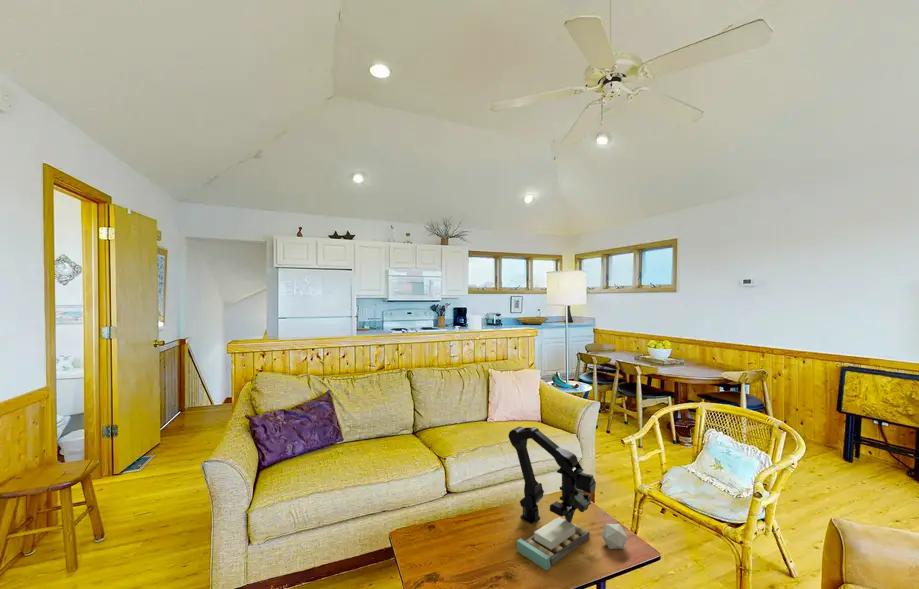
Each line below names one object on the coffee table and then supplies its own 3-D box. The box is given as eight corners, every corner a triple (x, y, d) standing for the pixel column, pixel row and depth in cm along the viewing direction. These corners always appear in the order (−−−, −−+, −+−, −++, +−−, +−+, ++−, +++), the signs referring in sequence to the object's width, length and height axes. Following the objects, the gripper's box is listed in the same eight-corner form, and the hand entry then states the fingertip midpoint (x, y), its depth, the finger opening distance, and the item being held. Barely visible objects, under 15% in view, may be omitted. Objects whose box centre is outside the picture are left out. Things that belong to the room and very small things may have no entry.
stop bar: (517, 551, 148) (517, 540, 148) (520, 548, 149) (520, 538, 149) (546, 570, 137) (546, 559, 137) (550, 568, 138) (550, 557, 138)
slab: (534, 539, 150) (534, 532, 150) (558, 523, 160) (558, 516, 160) (551, 549, 144) (551, 541, 144) (575, 532, 154) (575, 525, 154)
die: (624, 558, 144) (634, 532, 147) (602, 544, 146) (612, 518, 149) (615, 553, 152) (625, 528, 155) (595, 539, 154) (604, 515, 157)
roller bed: (524, 547, 150) (524, 539, 150) (561, 522, 166) (561, 515, 166) (552, 565, 140) (552, 557, 140) (589, 537, 156) (589, 530, 156)
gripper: (572, 501, 146) (573, 542, 146) (598, 485, 158) (599, 523, 158) (548, 489, 155) (549, 528, 155) (575, 476, 167) (575, 511, 167)
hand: (569, 523), depth 158 cm, fingers closed
